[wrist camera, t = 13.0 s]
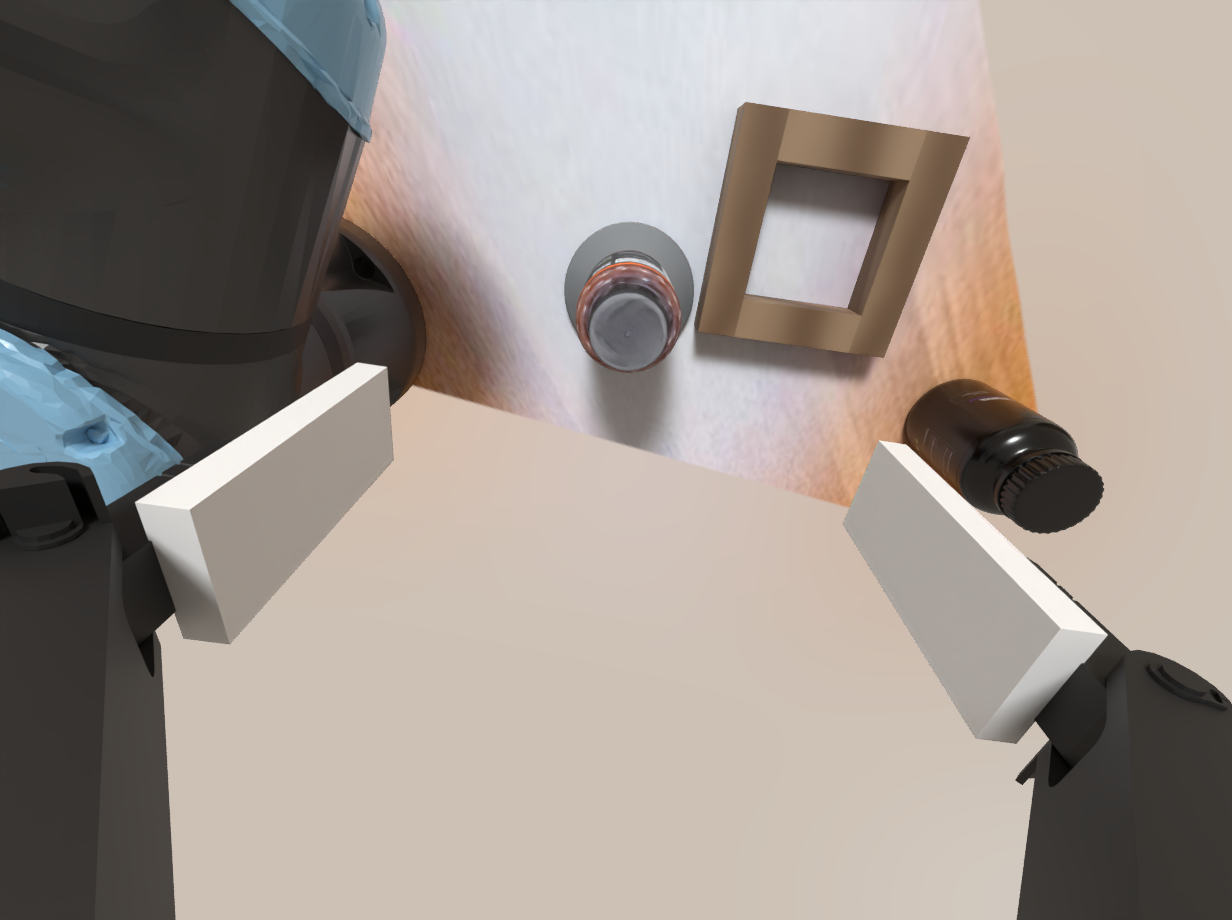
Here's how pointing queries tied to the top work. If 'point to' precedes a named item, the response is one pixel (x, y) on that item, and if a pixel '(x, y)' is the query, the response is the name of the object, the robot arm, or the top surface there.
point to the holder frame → (895, 248)
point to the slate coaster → (637, 240)
